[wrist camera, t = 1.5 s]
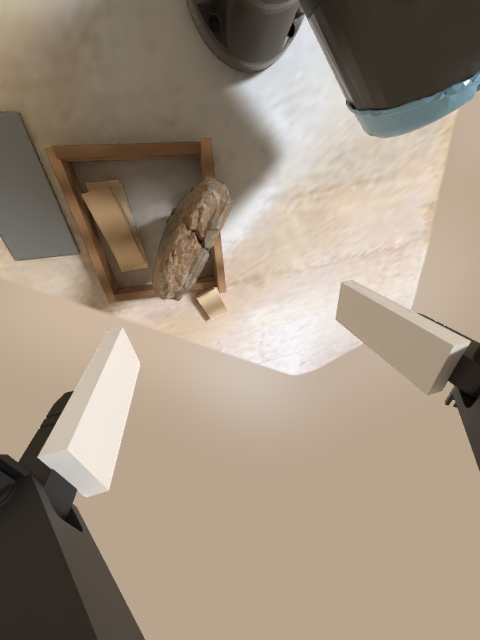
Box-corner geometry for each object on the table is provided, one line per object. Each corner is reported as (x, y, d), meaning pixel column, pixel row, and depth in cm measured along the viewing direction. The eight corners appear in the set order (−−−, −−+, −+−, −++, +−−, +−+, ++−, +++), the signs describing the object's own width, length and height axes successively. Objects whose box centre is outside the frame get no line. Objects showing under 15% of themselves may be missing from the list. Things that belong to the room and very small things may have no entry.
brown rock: (178, 269, 40) (177, 321, 23) (152, 256, 38) (130, 304, 21) (214, 194, 36) (243, 194, 19) (186, 175, 33) (192, 155, 17)
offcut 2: (89, 183, 32) (84, 183, 30) (120, 180, 32) (117, 179, 31) (124, 268, 38) (121, 272, 37) (149, 264, 39) (147, 267, 37)
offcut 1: (86, 194, 31) (80, 194, 29) (112, 187, 31) (108, 186, 29) (125, 267, 37) (122, 270, 35) (147, 260, 37) (145, 263, 35)
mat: (-70, 113, 25) (-73, 112, 25) (19, 113, 26) (17, 111, 26) (17, 259, 34) (15, 260, 33) (80, 252, 35) (79, 253, 35)
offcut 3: (196, 294, 44) (196, 298, 42) (213, 285, 44) (214, 288, 42) (210, 316, 47) (211, 320, 46) (226, 307, 47) (228, 311, 45)
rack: (56, 152, 29) (30, 142, 24) (206, 147, 32) (210, 138, 27) (113, 295, 40) (103, 310, 35) (220, 280, 43) (226, 292, 38)
